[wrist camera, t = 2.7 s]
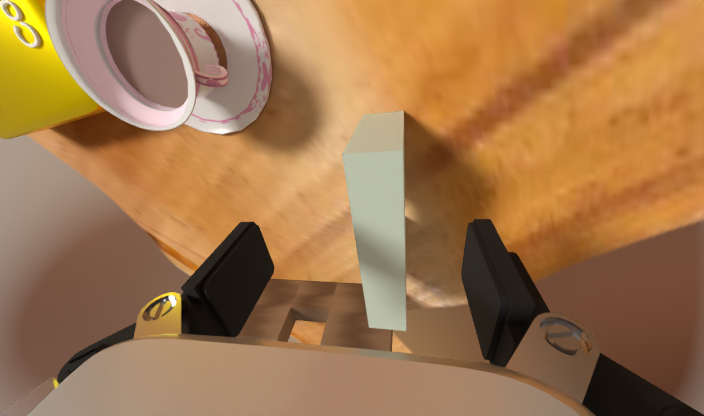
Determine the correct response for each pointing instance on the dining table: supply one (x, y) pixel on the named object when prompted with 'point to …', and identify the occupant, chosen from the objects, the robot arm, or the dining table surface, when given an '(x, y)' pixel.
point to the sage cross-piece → (379, 214)
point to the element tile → (35, 75)
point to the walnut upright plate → (315, 314)
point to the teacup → (165, 60)
